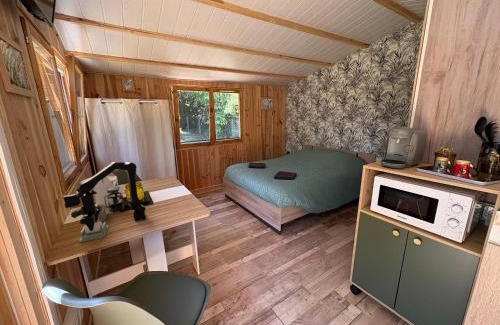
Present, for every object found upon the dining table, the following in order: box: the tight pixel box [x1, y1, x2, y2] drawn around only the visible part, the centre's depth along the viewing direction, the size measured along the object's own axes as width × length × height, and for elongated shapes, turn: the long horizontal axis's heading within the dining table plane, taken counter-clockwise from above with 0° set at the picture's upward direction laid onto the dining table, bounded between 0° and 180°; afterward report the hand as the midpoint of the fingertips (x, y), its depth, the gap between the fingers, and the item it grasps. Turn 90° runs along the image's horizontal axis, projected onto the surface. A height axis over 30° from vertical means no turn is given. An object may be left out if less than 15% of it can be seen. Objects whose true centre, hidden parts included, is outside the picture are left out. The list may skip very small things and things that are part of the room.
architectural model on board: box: [98, 204, 107, 224], centre depth 143 cm, size 11×3×10 cm, turn 27°
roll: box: [84, 221, 103, 234], centre depth 125 cm, size 7×6×6 cm
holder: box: [78, 221, 110, 243], centre depth 126 cm, size 12×13×4 cm
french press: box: [104, 180, 125, 213], centre depth 155 cm, size 12×9×23 cm
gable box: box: [93, 166, 120, 207], centre depth 171 cm, size 22×13×28 cm, turn 27°
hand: (93, 227), depth 125 cm, fingers open, 9 cm apart
